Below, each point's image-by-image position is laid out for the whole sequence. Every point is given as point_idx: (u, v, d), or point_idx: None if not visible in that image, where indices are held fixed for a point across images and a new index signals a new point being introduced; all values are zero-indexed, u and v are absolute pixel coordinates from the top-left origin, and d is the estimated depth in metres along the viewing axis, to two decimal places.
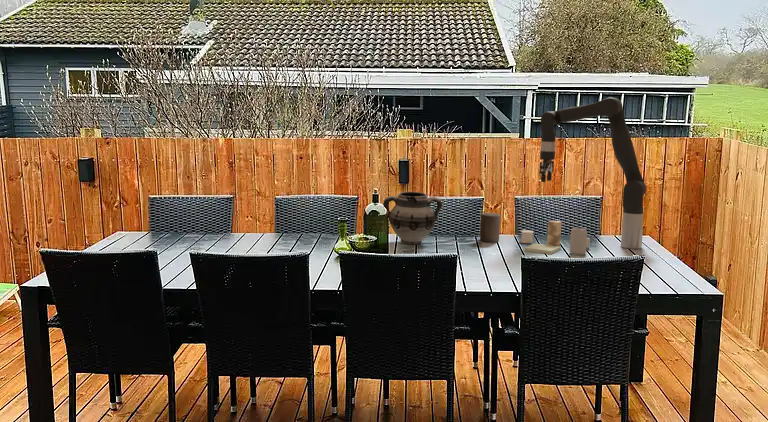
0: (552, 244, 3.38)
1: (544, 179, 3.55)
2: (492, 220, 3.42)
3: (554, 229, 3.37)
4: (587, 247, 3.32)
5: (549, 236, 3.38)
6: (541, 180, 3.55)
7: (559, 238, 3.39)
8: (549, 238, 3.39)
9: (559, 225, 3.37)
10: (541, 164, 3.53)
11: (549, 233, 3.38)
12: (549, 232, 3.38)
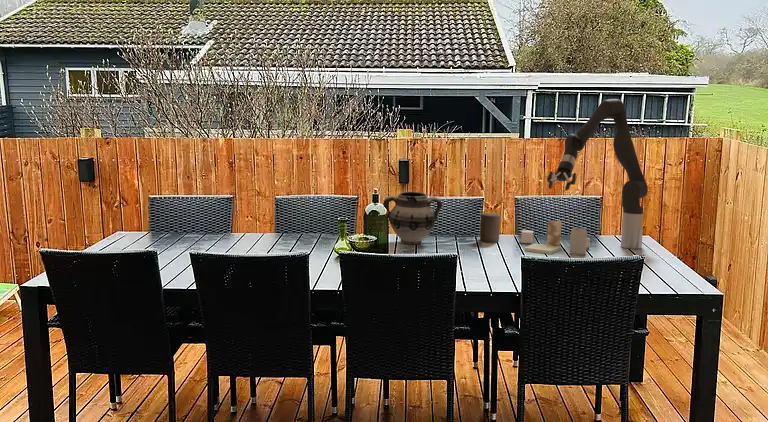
0: (552, 244, 3.38)
1: (549, 185, 3.54)
2: (492, 220, 3.42)
3: (554, 229, 3.37)
4: (587, 247, 3.32)
5: (549, 236, 3.38)
6: None
7: (559, 238, 3.39)
8: (549, 238, 3.39)
9: (559, 225, 3.37)
10: None
11: (549, 233, 3.38)
12: (549, 232, 3.38)
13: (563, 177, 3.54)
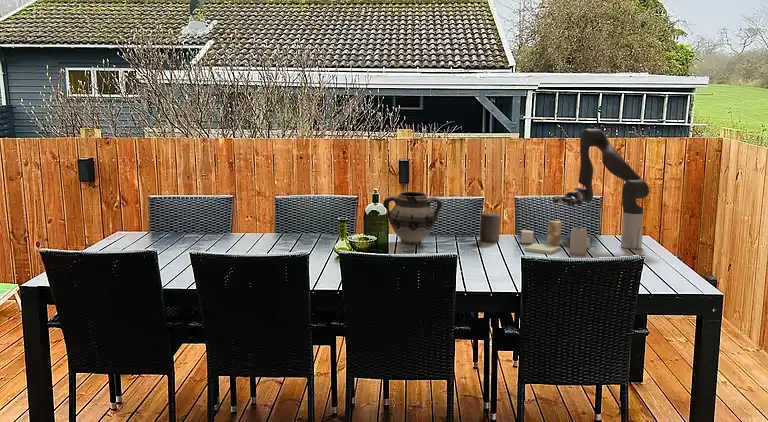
0: (552, 244, 3.38)
1: (555, 199, 3.50)
2: (492, 220, 3.42)
3: (554, 229, 3.37)
4: (587, 247, 3.32)
5: (549, 236, 3.38)
6: None
7: (559, 238, 3.39)
8: (549, 238, 3.39)
9: (559, 225, 3.37)
10: None
11: (549, 233, 3.38)
12: (549, 232, 3.38)
13: (570, 198, 3.51)
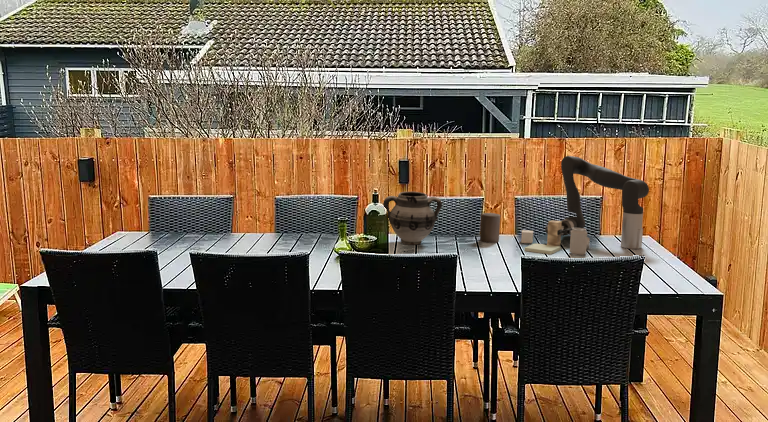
0: (552, 244, 3.38)
1: (547, 229, 3.40)
2: (492, 220, 3.42)
3: (554, 229, 3.37)
4: (588, 246, 3.32)
5: (549, 236, 3.38)
6: None
7: (559, 238, 3.39)
8: (549, 238, 3.39)
9: (559, 225, 3.37)
10: None
11: (549, 233, 3.38)
12: (549, 232, 3.38)
13: None
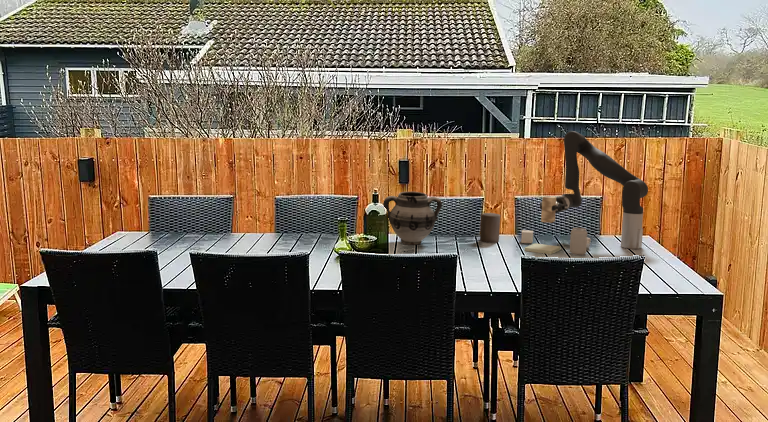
0: (546, 220, 3.30)
1: (541, 205, 3.31)
2: (492, 220, 3.42)
3: (548, 204, 3.28)
4: (589, 246, 3.33)
5: (543, 212, 3.30)
6: None
7: (553, 214, 3.30)
8: (543, 214, 3.30)
9: (553, 201, 3.29)
10: None
11: (543, 209, 3.30)
12: (543, 208, 3.30)
13: None
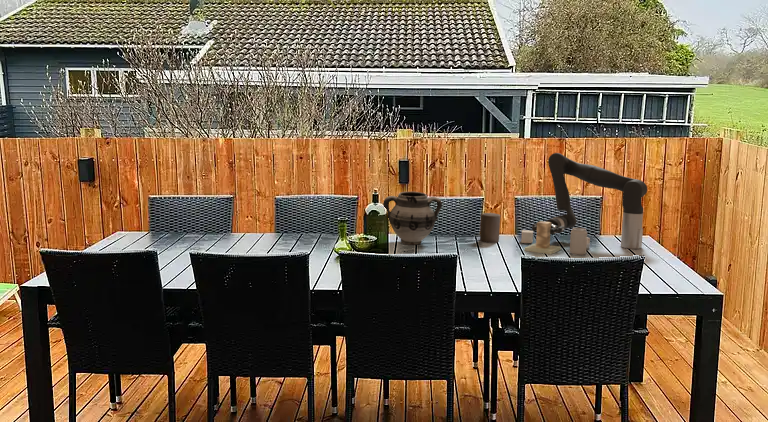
0: (541, 246, 3.26)
1: (534, 227, 3.29)
2: (492, 220, 3.42)
3: (543, 230, 3.24)
4: None
5: (538, 237, 3.26)
6: (532, 229, 3.29)
7: (548, 240, 3.27)
8: (538, 240, 3.26)
9: (548, 226, 3.25)
10: None
11: (538, 234, 3.26)
12: (538, 233, 3.26)
13: None
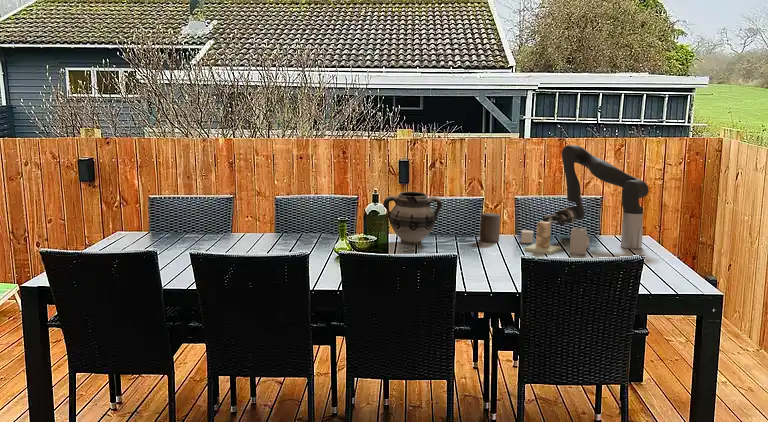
0: (541, 246, 3.26)
1: (545, 218, 3.41)
2: (492, 220, 3.42)
3: (543, 230, 3.24)
4: None
5: (538, 237, 3.26)
6: (543, 220, 3.41)
7: (548, 240, 3.27)
8: (538, 240, 3.26)
9: (548, 226, 3.25)
10: None
11: (538, 234, 3.26)
12: (538, 233, 3.26)
13: (560, 217, 3.42)
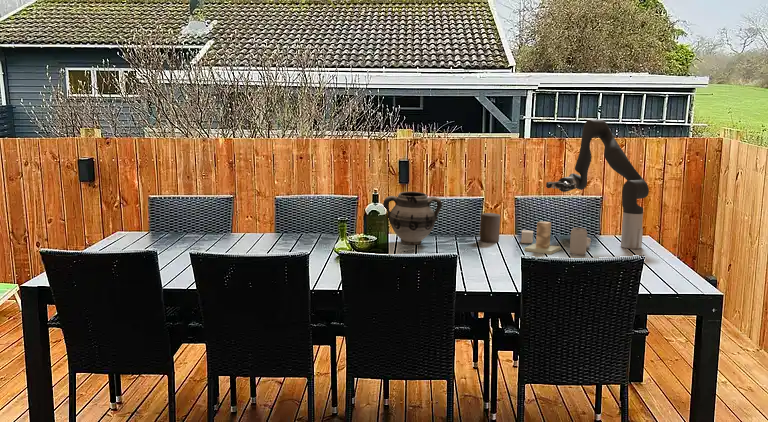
0: (541, 246, 3.26)
1: (548, 184, 3.50)
2: (492, 220, 3.42)
3: (543, 230, 3.24)
4: None
5: (538, 237, 3.26)
6: None
7: (548, 240, 3.27)
8: (538, 240, 3.26)
9: (548, 226, 3.25)
10: None
11: (538, 234, 3.26)
12: (538, 233, 3.26)
13: (563, 183, 3.52)
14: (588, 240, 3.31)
